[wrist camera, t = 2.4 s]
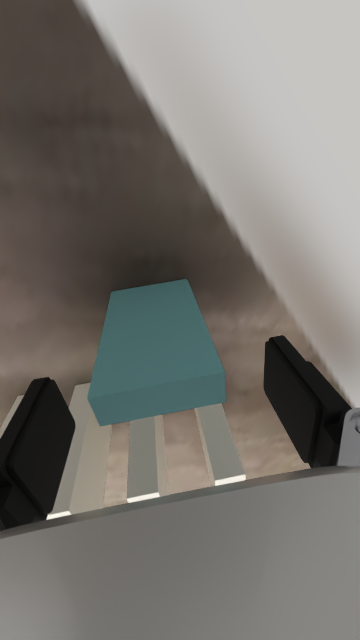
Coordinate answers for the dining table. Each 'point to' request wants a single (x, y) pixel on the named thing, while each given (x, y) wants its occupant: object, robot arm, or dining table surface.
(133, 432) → the domino
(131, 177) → the dining table surface
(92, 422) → the domino
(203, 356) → the domino
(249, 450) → the dining table surface
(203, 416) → the domino
